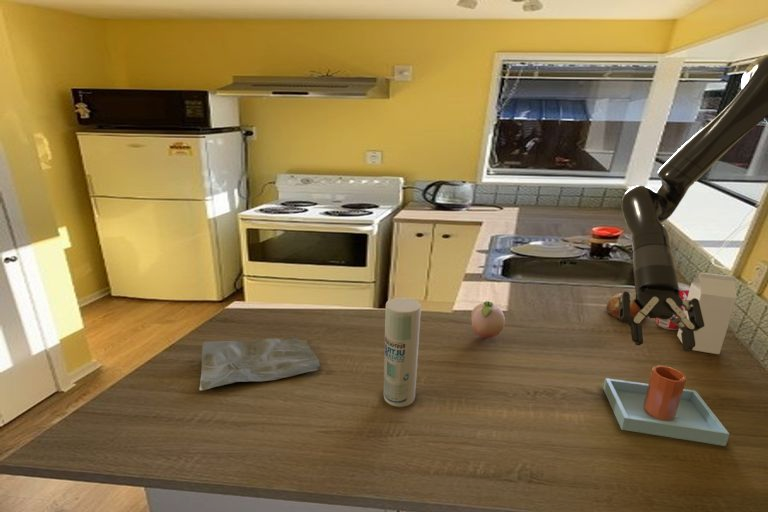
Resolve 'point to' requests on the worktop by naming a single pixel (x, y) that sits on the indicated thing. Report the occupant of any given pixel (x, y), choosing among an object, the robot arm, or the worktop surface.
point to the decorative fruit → (487, 320)
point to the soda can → (683, 295)
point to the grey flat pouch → (254, 361)
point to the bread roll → (614, 307)
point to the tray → (688, 423)
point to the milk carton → (712, 310)
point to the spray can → (401, 350)
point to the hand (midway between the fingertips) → (663, 347)
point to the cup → (664, 393)
